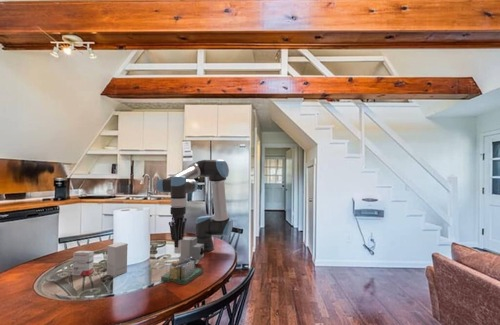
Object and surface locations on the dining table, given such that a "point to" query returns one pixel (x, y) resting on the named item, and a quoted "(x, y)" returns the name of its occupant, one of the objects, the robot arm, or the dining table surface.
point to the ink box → (83, 263)
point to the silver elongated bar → (182, 261)
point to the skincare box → (117, 259)
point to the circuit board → (182, 273)
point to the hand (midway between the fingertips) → (177, 253)
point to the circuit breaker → (191, 249)
